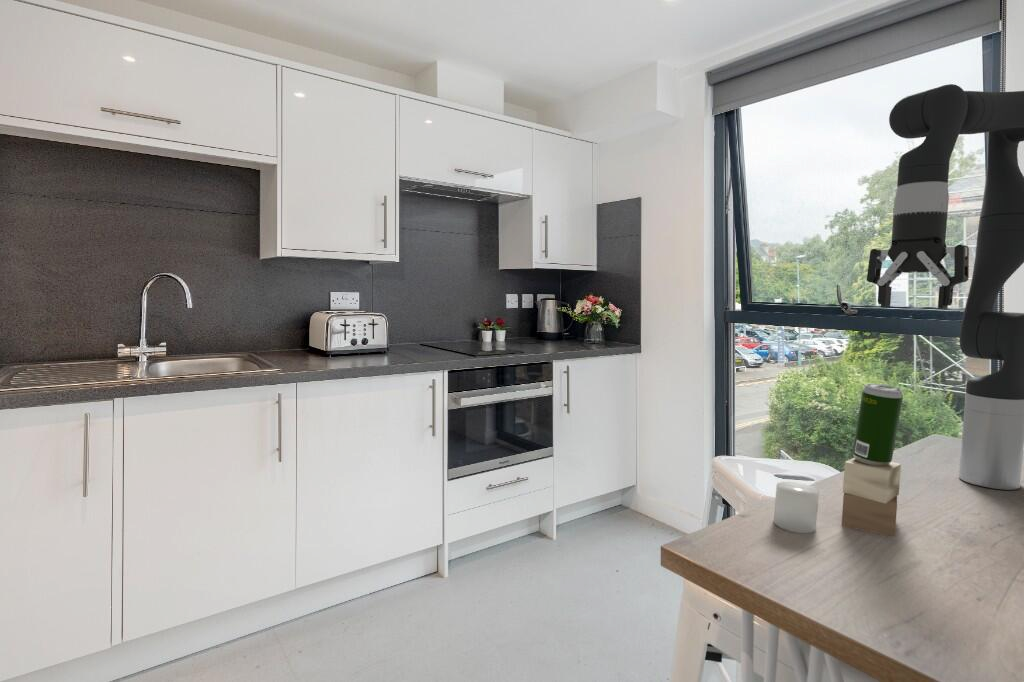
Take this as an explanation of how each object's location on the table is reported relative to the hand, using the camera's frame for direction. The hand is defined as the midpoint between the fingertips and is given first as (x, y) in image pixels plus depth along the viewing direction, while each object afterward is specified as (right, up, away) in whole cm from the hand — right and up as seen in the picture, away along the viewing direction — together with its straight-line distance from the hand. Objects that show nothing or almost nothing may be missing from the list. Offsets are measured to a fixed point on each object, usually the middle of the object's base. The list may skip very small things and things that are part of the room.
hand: (912, 308), depth 98 cm
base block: (-12, -35, -7) cm, 38 cm away
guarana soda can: (-12, -25, -7) cm, 29 cm away
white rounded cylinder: (-24, -35, -8) cm, 43 cm away
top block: (-12, -30, -7) cm, 33 cm away
